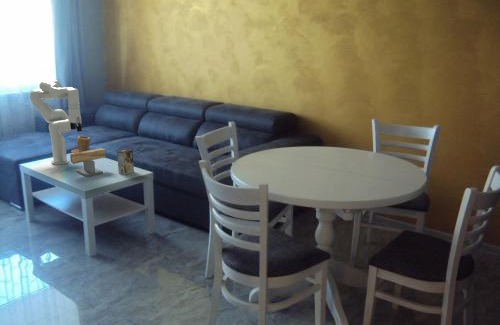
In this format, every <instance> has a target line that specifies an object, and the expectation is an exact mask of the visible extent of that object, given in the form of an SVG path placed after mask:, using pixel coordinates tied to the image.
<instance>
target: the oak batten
mask: <svg viewBox="0 0 500 325" xmlns="http://www.w3.org/2000/svg"><path fill="white" fill-rule="evenodd" d="M69 158H70V159H69V161H70V163H71V164H74V165H75V164H79V163H83V162H86V161H91V160H92V161H95V160H99V159H104V158H106V149H105V148H102V147H100V148H95V149H90V150H89V149H88V151H84V152H78V153H70V154H69Z"/></svg>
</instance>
